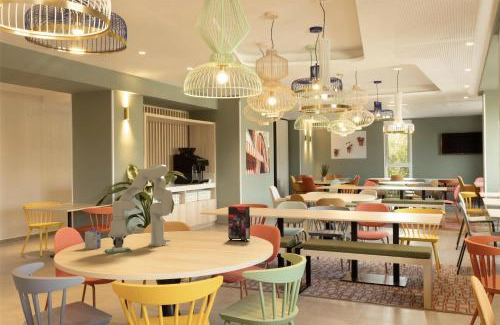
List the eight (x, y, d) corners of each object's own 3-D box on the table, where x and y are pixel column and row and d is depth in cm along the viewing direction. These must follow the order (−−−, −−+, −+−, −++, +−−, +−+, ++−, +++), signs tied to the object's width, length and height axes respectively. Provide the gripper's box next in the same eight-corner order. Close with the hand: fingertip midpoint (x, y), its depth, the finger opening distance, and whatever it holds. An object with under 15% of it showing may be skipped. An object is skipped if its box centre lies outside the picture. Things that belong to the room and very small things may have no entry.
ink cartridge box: (101, 247, 325) (101, 227, 325) (97, 249, 320) (97, 228, 320) (88, 247, 327) (88, 227, 327) (84, 248, 322) (84, 228, 322)
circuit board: (128, 249, 319) (128, 244, 319) (131, 251, 307) (131, 247, 307) (104, 250, 312) (104, 246, 312) (107, 253, 300) (107, 249, 300)
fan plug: (120, 247, 313) (120, 235, 314) (122, 249, 305) (122, 237, 305) (114, 247, 312) (114, 236, 312) (116, 249, 303) (116, 237, 304)
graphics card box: (227, 240, 357) (227, 206, 358) (232, 239, 363) (232, 205, 364) (245, 242, 348) (245, 206, 349) (250, 240, 354) (250, 206, 355)
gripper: (129, 217, 317) (129, 243, 317) (104, 219, 310) (104, 245, 309) (131, 218, 311) (131, 245, 310) (106, 220, 303) (106, 247, 303)
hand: (118, 245), depth 310 cm, fingers closed on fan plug, 4 cm apart
